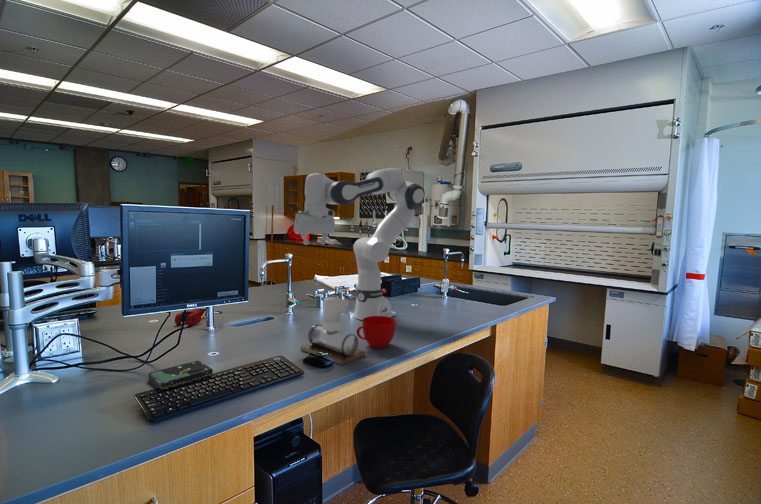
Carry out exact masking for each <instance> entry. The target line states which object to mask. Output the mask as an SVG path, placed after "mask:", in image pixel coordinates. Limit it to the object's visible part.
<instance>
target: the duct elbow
mask: <svg viewBox="0 0 761 504" xmlns="http://www.w3.org/2000/svg"><path fill="white" fill-rule="evenodd" d="M322 305H323V307H322V308H323V314H322V316H323V318H322V326H323V330H325V331H341V327H342V326H341V324H342V321H341V319H342V317H341V316H342V315H341V314H348V312H349V299H341V297H338V296H329V297H328V296H326V297H324V298H323V304H322Z"/></svg>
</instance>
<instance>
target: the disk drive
mask: <svg viewBox="0 0 761 504" xmlns="http://www.w3.org/2000/svg"><path fill="white" fill-rule="evenodd" d="M212 373H213V368H211V367H210V366H208V365H206V364H204V363H202V361H200V360H194V361H190V362H186V363H182V364H179V365H175V366H171V367H167V368H162V369H159V370H155V371H151V372H148V381H149V382H150V383H151V384H153V385H154V386H155V387H156V388H157V389H159V388H160V387H164V386H169V385H173V384H176V383H179V382H183V381H188V380H192V379H195V378H199V377H202V376H205V375H209V374H212ZM213 374H214V373H213Z"/></svg>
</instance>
